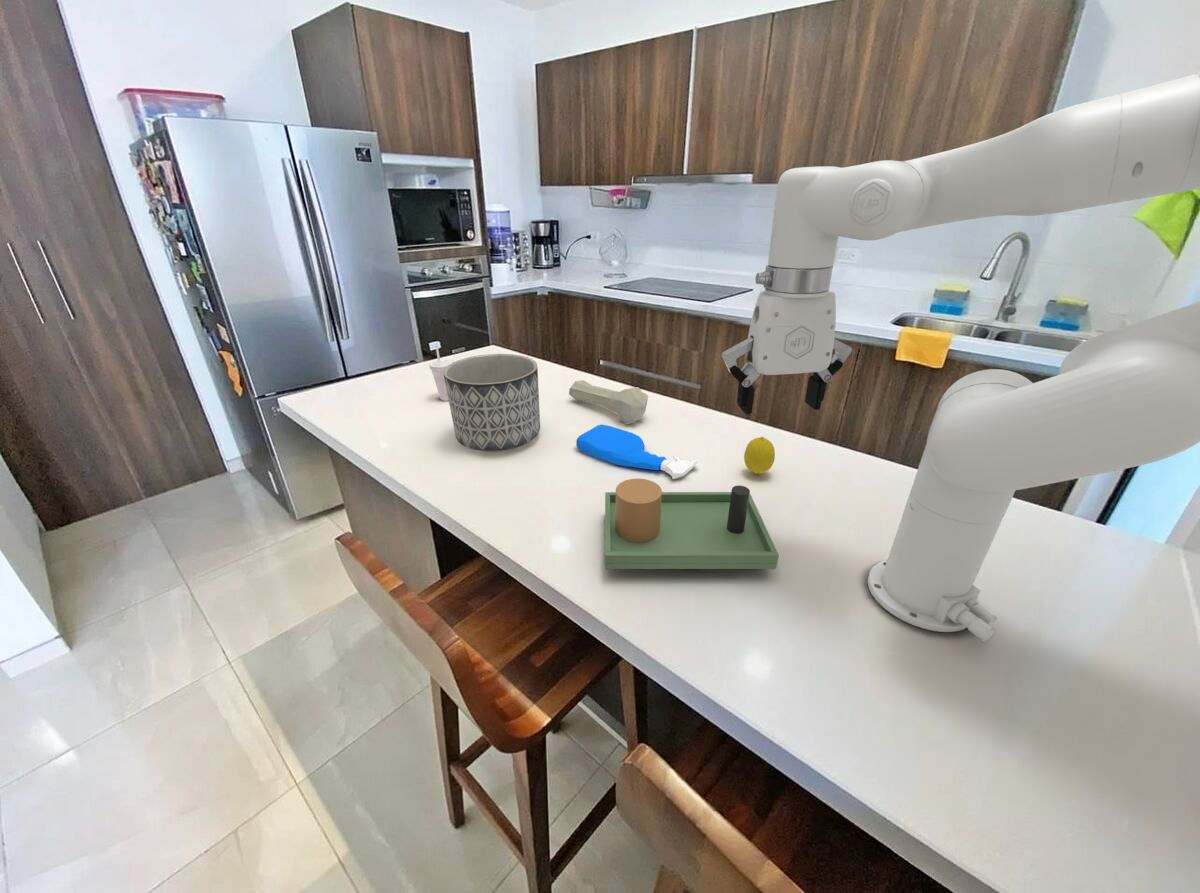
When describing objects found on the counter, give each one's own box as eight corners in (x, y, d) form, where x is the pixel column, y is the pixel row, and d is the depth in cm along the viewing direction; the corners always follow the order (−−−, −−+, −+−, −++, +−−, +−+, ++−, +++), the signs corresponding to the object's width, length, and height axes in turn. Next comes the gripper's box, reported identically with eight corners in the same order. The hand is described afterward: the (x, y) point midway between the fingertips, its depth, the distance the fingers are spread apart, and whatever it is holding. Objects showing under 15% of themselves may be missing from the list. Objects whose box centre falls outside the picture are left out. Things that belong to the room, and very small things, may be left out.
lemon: (772, 482, 93) (779, 445, 90) (742, 480, 94) (747, 442, 91) (770, 468, 98) (776, 431, 94) (741, 465, 99) (746, 429, 95)
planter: (438, 453, 105) (424, 379, 97) (479, 416, 122) (470, 351, 114) (523, 463, 101) (516, 387, 93) (553, 423, 117) (549, 356, 110)
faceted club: (629, 428, 112) (556, 404, 129) (652, 426, 119) (580, 403, 135) (635, 390, 110) (561, 370, 126) (658, 390, 116) (584, 371, 133)
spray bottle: (571, 438, 104) (674, 476, 91) (603, 420, 112) (701, 453, 98) (572, 451, 105) (672, 490, 92) (603, 432, 113) (700, 466, 100)
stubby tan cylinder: (615, 542, 74) (616, 503, 70) (615, 515, 80) (615, 478, 76) (661, 542, 74) (664, 503, 70) (657, 515, 80) (659, 478, 76)
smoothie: (434, 395, 135) (425, 344, 128) (459, 392, 136) (451, 342, 130) (435, 403, 129) (425, 351, 123) (460, 400, 131) (452, 348, 124)
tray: (605, 569, 70) (604, 523, 66) (605, 504, 84) (605, 463, 80) (776, 569, 70) (785, 522, 66) (747, 504, 84) (753, 462, 80)
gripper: (740, 289, 58) (726, 423, 65) (882, 282, 59) (852, 415, 67) (719, 279, 64) (710, 402, 72) (848, 273, 66) (824, 395, 73)
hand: (778, 408), depth 69 cm, fingers open, 9 cm apart
